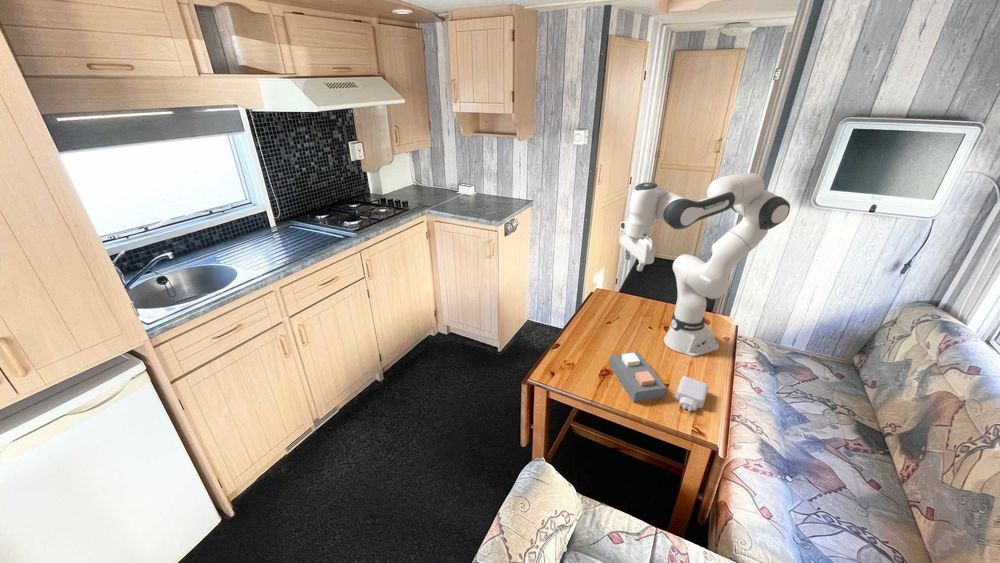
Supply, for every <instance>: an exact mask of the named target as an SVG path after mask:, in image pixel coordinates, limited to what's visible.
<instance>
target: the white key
mask: <svg viewBox="0 0 1000 563" xmlns="http://www.w3.org/2000/svg"><path fill="white" fill-rule="evenodd" d="M627 353H628V354H625V353H621V354H622V358H621V360H622V361H623V362H624V364H625V365H626V367H632V366H639V364H640V360H639V359H638V357H637V356H636V355H635V353H633V352H627Z"/></svg>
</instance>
